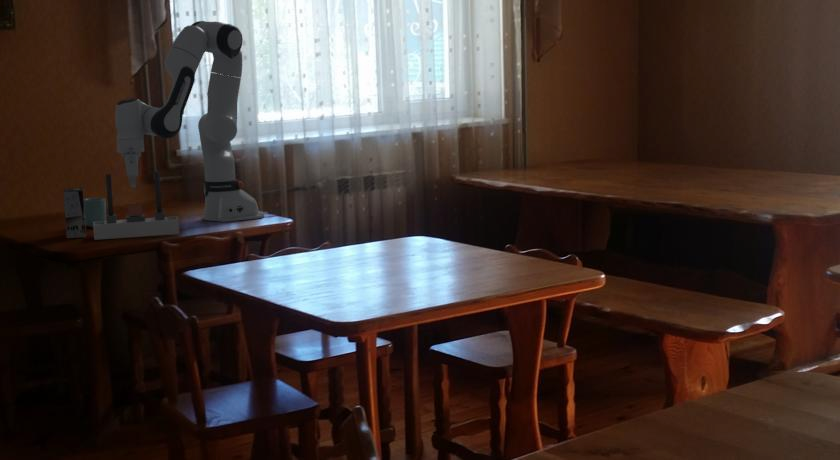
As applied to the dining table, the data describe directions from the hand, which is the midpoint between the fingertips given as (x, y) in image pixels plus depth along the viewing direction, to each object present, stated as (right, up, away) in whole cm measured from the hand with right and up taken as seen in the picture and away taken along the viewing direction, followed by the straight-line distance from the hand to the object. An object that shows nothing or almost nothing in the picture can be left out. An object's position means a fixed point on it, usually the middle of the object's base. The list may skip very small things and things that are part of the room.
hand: (133, 187), depth 358 cm
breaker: (0, -10, +2) cm, 10 cm away
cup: (-19, -13, +21) cm, 32 cm away
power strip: (0, -16, +3) cm, 17 cm away
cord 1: (-7, -12, 0) cm, 14 cm away
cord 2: (+8, -11, +4) cm, 14 cm away
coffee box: (-21, -17, +5) cm, 27 cm away
